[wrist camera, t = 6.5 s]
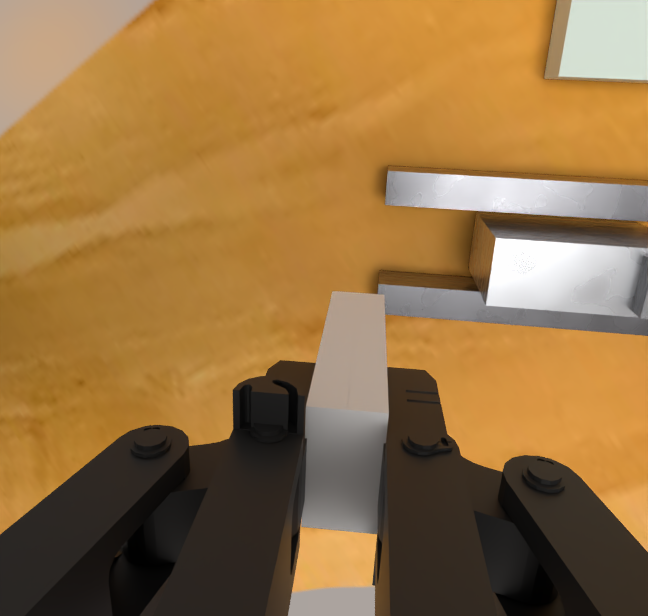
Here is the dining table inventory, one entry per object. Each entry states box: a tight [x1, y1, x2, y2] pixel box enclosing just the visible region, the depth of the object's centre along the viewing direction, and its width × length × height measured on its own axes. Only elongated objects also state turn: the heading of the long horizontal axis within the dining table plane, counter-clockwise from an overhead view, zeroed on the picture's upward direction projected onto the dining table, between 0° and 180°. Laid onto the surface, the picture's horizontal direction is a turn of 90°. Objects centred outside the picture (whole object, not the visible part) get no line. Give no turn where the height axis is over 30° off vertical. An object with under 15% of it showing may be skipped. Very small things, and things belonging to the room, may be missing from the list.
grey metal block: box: [468, 212, 648, 319], centre depth 26 cm, size 8×3×7 cm, turn 88°
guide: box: [378, 166, 648, 336], centre depth 28 cm, size 16×7×2 cm, turn 88°
